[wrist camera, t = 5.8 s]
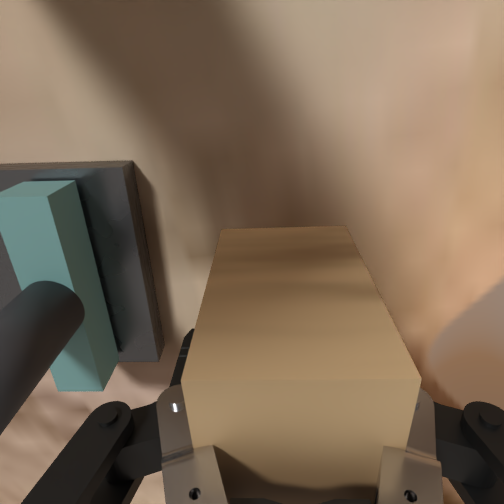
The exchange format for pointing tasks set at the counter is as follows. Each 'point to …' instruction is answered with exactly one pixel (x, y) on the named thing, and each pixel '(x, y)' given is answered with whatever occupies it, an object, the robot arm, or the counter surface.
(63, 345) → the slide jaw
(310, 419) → the block
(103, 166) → the vise
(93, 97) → the counter surface
